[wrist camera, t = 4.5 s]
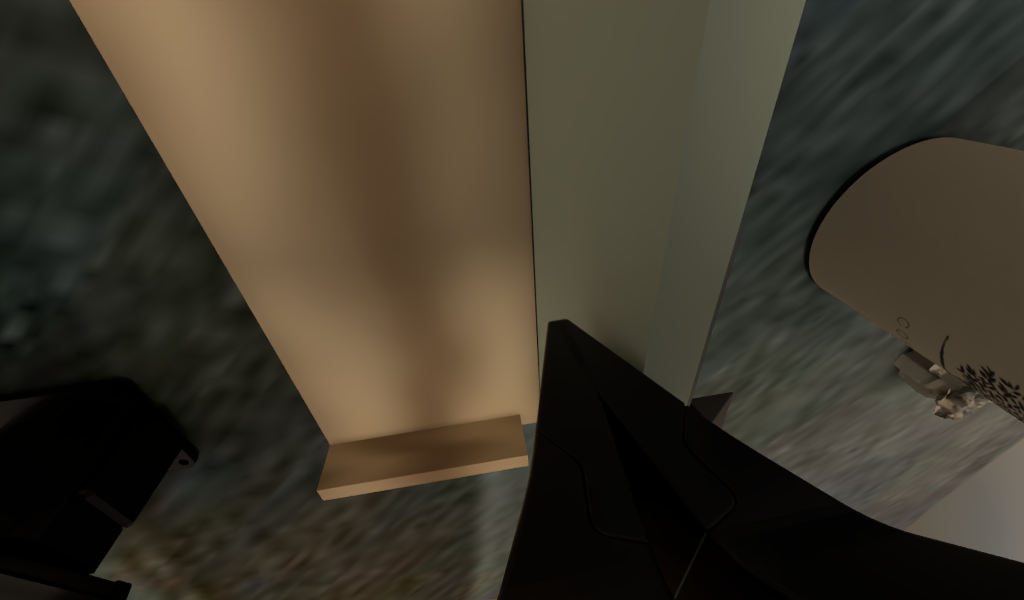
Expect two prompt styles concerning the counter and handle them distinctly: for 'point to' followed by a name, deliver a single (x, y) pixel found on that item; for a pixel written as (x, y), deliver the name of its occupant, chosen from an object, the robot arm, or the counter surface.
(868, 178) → the travel mug
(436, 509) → the counter surface
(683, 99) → the panel
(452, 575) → the counter surface
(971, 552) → the robot arm
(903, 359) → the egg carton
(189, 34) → the cart bed
